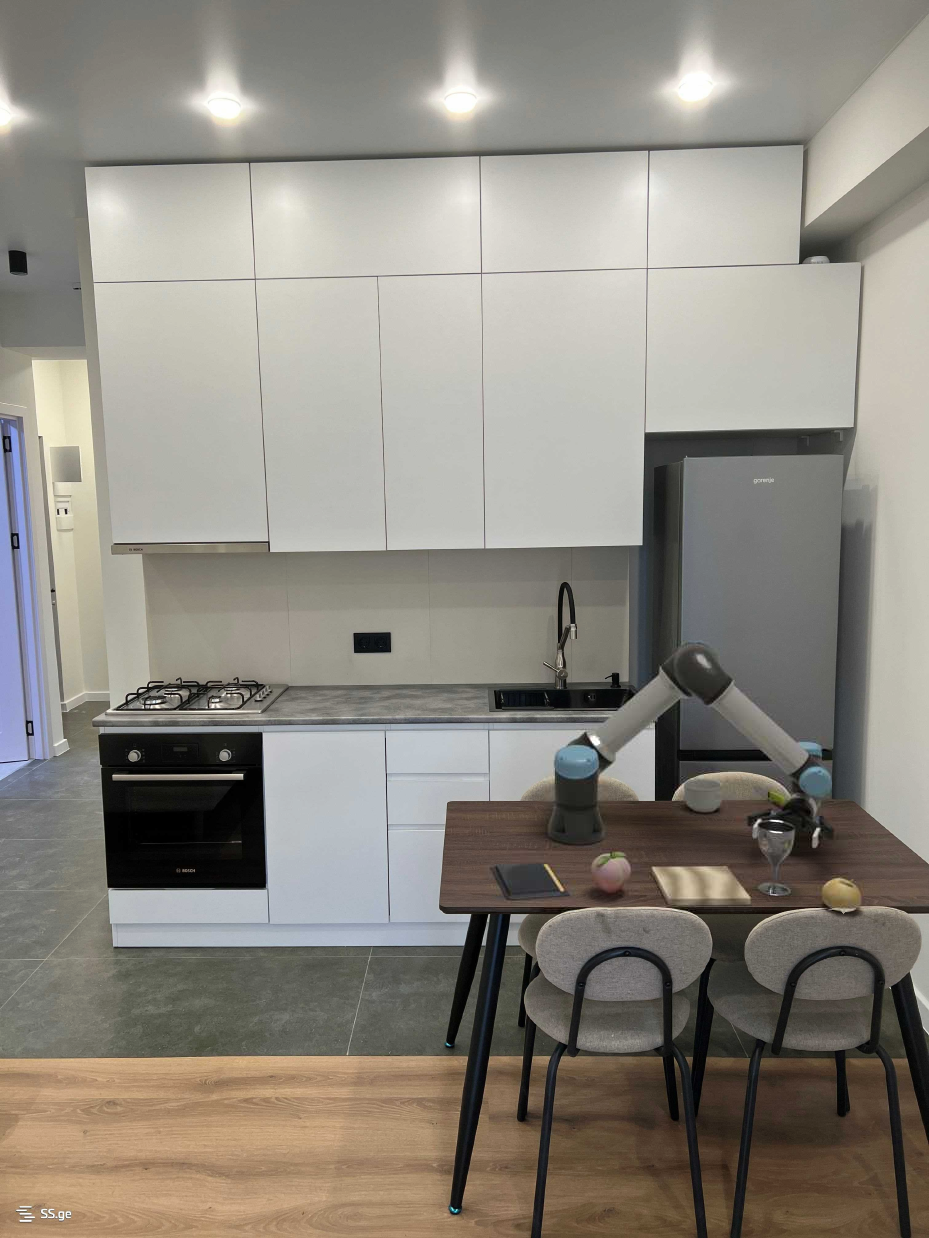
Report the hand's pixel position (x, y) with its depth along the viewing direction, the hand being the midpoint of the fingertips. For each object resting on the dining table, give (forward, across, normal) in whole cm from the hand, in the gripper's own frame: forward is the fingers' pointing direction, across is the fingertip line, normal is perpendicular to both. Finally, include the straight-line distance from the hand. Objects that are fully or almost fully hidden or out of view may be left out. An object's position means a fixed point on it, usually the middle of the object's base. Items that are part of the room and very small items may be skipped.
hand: (783, 837), depth 206 cm
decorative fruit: (+30, +33, -9) cm, 45 cm away
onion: (+13, -14, -10) cm, 22 cm away
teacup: (-40, +30, -9) cm, 51 cm away
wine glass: (+10, 0, -9) cm, 14 cm away
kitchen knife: (-58, +15, -9) cm, 61 cm away
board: (+17, +15, -9) cm, 25 cm away
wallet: (+33, +52, -10) cm, 62 cm away
